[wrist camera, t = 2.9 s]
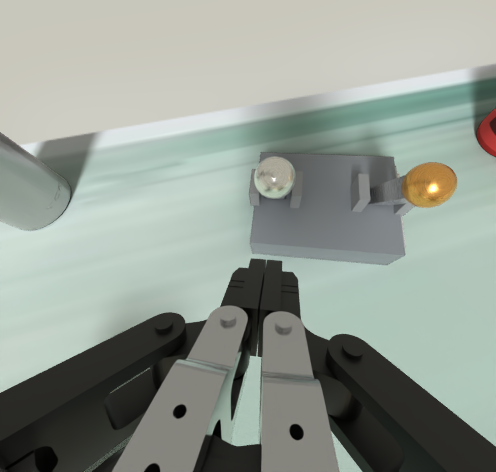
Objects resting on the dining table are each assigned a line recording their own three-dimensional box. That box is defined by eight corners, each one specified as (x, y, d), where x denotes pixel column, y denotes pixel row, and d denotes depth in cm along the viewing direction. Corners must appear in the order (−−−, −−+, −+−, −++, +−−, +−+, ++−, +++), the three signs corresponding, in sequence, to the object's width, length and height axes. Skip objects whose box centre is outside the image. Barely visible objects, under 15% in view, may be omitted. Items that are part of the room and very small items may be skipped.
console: (249, 253, 29) (243, 233, 23) (258, 171, 33) (256, 136, 27) (392, 265, 27) (428, 247, 21) (383, 177, 31) (411, 140, 25)
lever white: (260, 204, 28) (250, 195, 17) (263, 176, 27) (253, 150, 17) (288, 206, 27) (295, 198, 17) (291, 177, 27) (299, 151, 17)
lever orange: (360, 210, 26) (413, 205, 16) (363, 181, 26) (419, 156, 16) (390, 212, 26) (466, 208, 16) (394, 182, 26) (473, 158, 15)
